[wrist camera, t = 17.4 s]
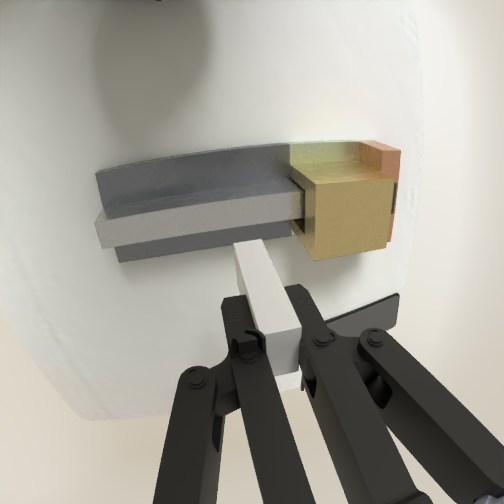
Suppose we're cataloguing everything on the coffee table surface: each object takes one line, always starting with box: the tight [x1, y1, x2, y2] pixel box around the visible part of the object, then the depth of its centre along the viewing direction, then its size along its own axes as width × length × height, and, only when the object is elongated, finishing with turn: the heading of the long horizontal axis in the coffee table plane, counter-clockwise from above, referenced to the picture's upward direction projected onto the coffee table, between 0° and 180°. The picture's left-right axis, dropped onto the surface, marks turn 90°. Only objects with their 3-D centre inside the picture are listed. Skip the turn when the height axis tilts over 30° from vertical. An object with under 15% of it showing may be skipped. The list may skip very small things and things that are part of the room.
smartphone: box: [325, 293, 400, 337], centre depth 40 cm, size 7×1×15 cm
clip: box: [290, 160, 395, 261], centre depth 26 cm, size 7×6×6 cm
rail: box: [94, 140, 401, 263], centre depth 26 cm, size 26×9×5 cm, turn 95°
